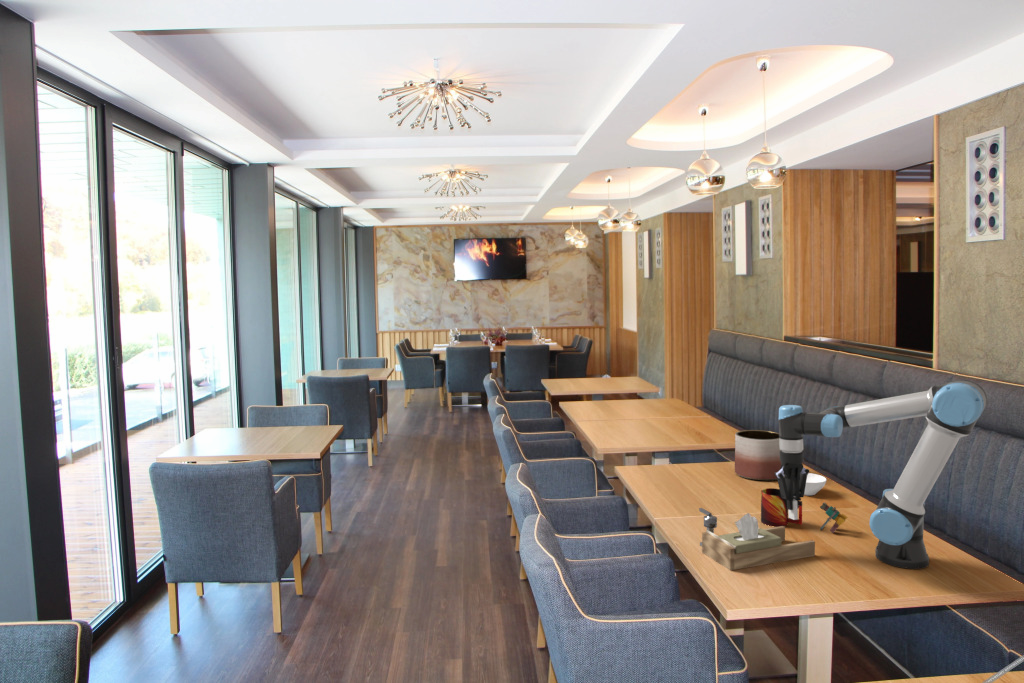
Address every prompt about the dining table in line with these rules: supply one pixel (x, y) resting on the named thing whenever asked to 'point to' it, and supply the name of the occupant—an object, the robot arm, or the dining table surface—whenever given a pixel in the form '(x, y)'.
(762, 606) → the dining table surface
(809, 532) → the dining table surface
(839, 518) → the binoculars
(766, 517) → the mug
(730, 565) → the bay
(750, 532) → the tissue box
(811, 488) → the bowl
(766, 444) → the planter
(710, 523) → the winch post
